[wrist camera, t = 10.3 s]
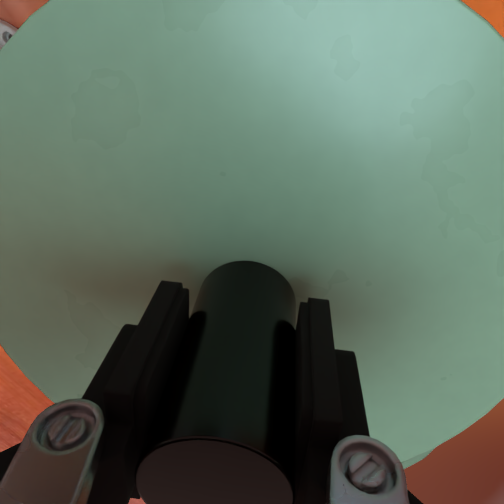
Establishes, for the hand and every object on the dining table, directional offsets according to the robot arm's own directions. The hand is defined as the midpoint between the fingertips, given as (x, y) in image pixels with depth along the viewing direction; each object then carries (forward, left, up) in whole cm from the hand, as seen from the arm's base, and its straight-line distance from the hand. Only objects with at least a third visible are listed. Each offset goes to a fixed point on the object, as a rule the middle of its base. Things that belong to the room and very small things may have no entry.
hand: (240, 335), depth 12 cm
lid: (0, 0, -2) cm, 2 cm away
